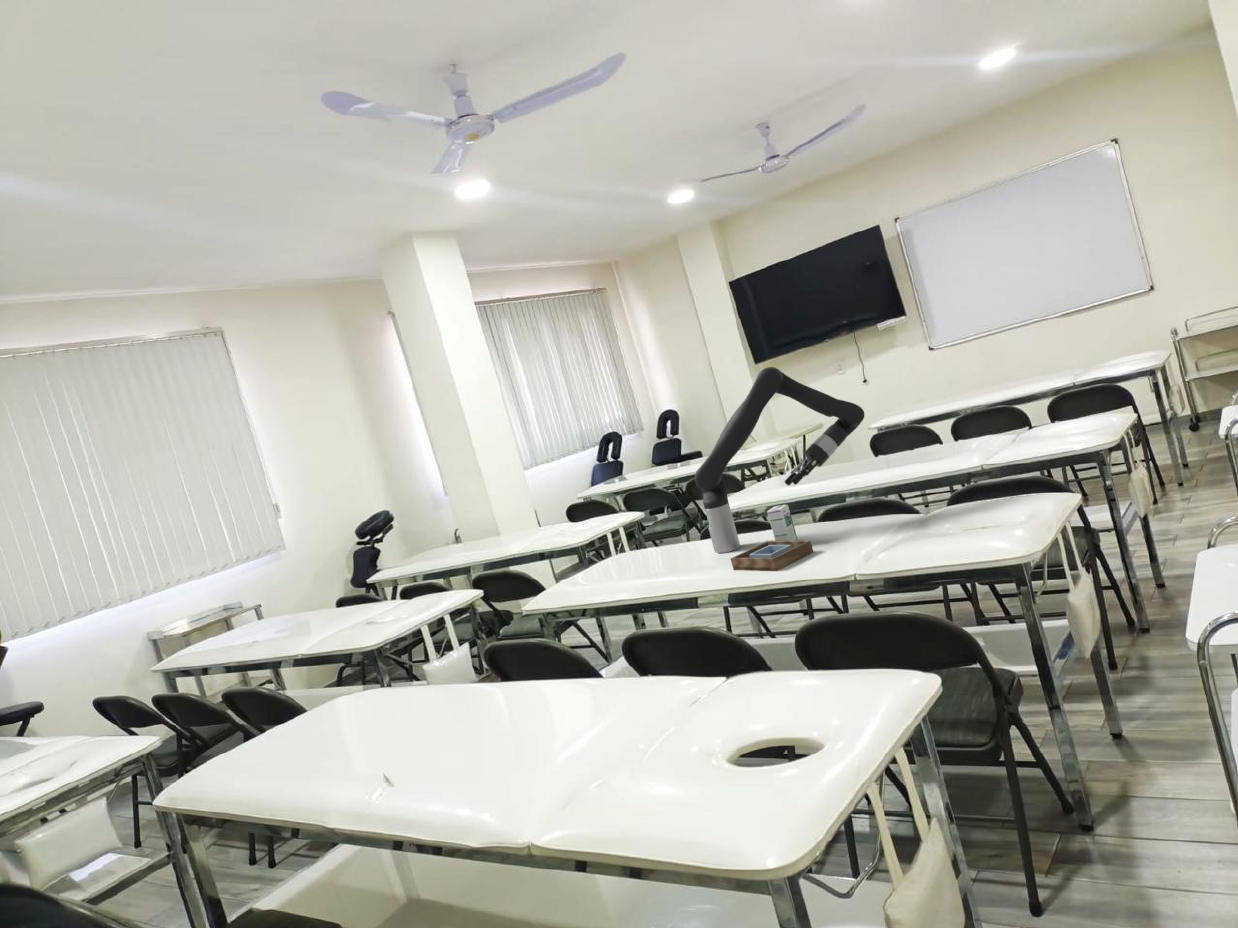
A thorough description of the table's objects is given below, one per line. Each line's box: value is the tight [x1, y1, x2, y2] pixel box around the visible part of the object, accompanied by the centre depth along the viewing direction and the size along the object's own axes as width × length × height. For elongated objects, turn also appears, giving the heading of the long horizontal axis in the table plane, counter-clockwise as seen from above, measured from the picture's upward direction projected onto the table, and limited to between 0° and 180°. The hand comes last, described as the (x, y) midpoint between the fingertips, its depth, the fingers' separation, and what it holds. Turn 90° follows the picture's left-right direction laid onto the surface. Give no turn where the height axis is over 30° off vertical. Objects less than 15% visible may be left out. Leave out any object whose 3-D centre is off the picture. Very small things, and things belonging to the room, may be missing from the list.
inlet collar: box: [749, 545, 792, 558], centre depth 270 cm, size 10×10×3 cm
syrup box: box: [766, 504, 799, 541], centre depth 284 cm, size 6×6×14 cm
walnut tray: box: [730, 540, 814, 572], centre depth 270 cm, size 20×18×4 cm
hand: (789, 483), depth 283 cm, fingers open, 8 cm apart
